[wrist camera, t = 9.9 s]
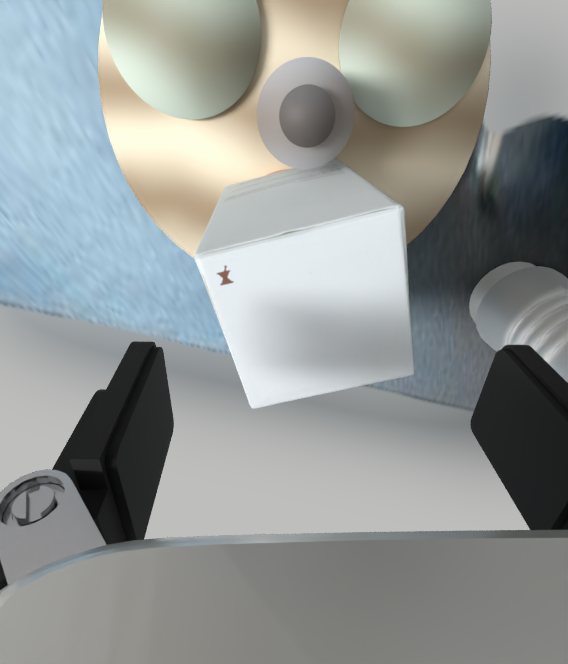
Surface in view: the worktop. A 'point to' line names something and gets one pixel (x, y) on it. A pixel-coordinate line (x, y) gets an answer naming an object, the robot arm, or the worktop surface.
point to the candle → (524, 311)
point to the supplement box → (309, 282)
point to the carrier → (291, 97)
